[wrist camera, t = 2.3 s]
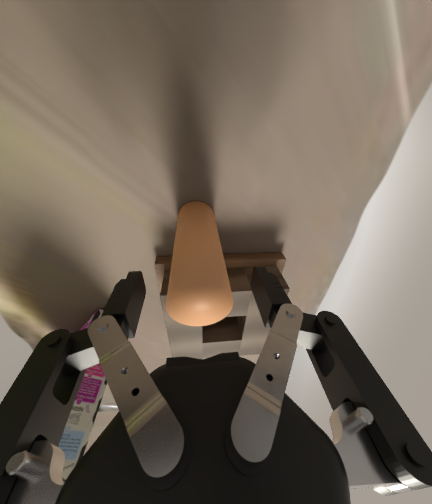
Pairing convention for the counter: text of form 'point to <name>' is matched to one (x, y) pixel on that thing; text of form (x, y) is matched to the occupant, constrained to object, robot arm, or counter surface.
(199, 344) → the socket block
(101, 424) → the counter surface
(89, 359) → the robot arm
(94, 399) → the candy bar box
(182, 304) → the wooden pin
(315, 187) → the counter surface
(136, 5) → the counter surface
